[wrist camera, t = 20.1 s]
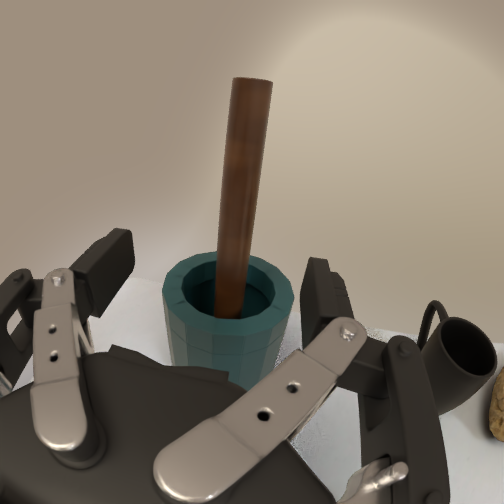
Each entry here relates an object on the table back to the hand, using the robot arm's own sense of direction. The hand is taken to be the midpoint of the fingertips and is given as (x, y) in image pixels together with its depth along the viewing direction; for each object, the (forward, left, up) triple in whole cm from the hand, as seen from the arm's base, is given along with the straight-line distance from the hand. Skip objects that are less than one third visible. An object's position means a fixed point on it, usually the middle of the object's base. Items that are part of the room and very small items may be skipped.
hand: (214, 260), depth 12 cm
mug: (+21, +10, -17) cm, 29 cm away
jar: (-1, +6, -17) cm, 18 cm away
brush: (-1, +6, -16) cm, 17 cm away
